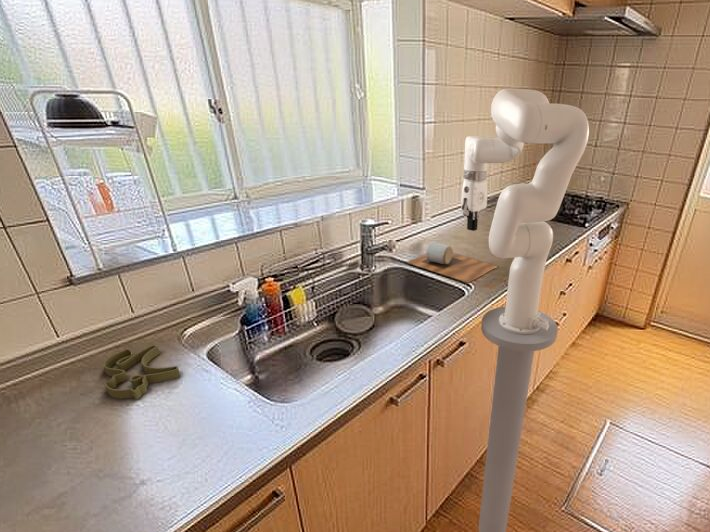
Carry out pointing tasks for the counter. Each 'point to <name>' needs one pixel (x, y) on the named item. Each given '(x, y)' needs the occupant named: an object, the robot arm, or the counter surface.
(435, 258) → the ceramic mug
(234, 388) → the counter surface
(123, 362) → the cookie cutter
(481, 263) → the wooden cutting board
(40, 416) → the counter surface
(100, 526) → the counter surface
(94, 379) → the counter surface
